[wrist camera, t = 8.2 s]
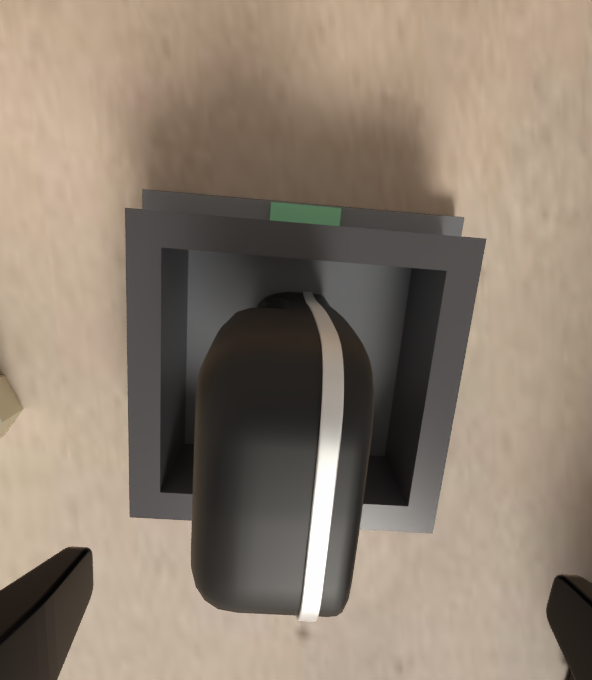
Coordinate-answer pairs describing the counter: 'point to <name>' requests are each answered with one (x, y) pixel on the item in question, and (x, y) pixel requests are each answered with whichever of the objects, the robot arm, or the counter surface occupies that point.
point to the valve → (8, 406)
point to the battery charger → (281, 459)
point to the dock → (297, 276)
